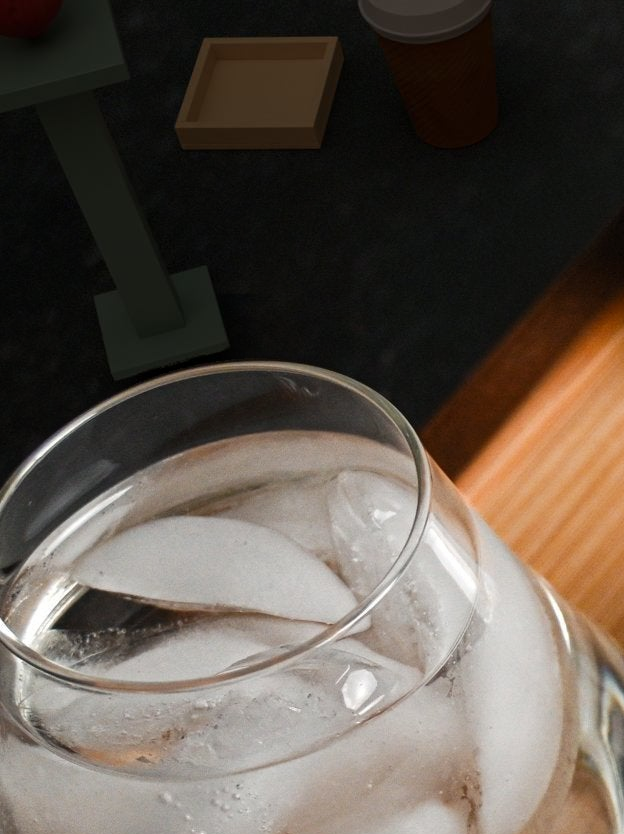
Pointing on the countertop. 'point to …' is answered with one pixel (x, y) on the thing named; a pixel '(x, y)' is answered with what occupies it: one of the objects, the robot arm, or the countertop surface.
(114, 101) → the countertop surface
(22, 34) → the onion
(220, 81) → the tray
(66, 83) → the stand
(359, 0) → the disposable coffee cup
